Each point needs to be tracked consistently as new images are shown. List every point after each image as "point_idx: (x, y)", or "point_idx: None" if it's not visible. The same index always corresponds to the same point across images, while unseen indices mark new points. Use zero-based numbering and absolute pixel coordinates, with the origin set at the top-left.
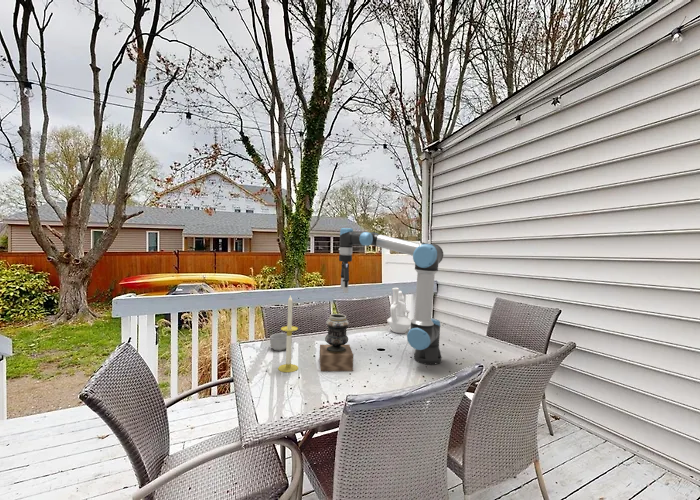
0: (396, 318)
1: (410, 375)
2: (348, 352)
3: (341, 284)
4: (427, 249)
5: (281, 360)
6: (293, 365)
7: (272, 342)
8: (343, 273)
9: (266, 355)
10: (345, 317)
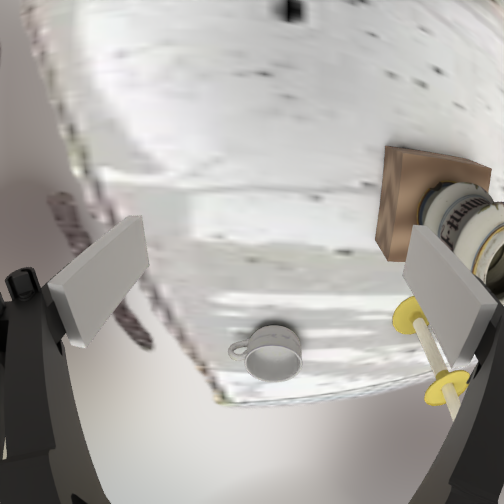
0: None
1: (492, 23)
2: (472, 177)
3: (126, 286)
4: None
5: (362, 331)
6: (406, 306)
7: (291, 369)
8: (66, 399)
9: (321, 360)
10: None
